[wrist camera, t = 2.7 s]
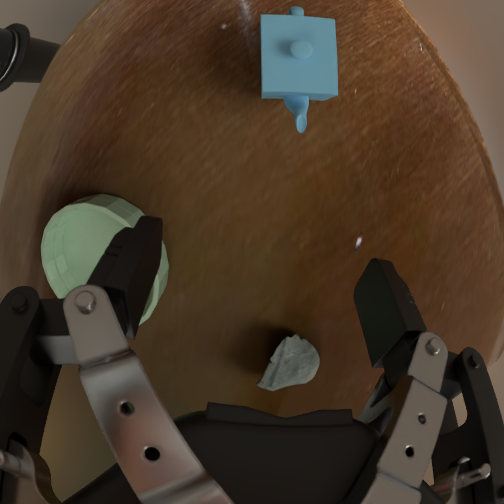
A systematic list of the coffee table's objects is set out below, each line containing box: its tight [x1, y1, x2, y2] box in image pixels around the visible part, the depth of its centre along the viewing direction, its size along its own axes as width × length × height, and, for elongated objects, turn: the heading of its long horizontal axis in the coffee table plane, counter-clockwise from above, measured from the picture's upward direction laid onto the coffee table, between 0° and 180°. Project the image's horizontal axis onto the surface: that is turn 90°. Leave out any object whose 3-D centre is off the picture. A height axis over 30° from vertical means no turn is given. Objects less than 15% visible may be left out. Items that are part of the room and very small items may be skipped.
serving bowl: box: [41, 194, 169, 325], centre depth 32 cm, size 16×16×4 cm
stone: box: [256, 334, 320, 391], centre depth 37 cm, size 11×4×10 cm
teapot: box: [261, 6, 338, 133], centre depth 21 cm, size 12×6×8 cm, turn 1°
